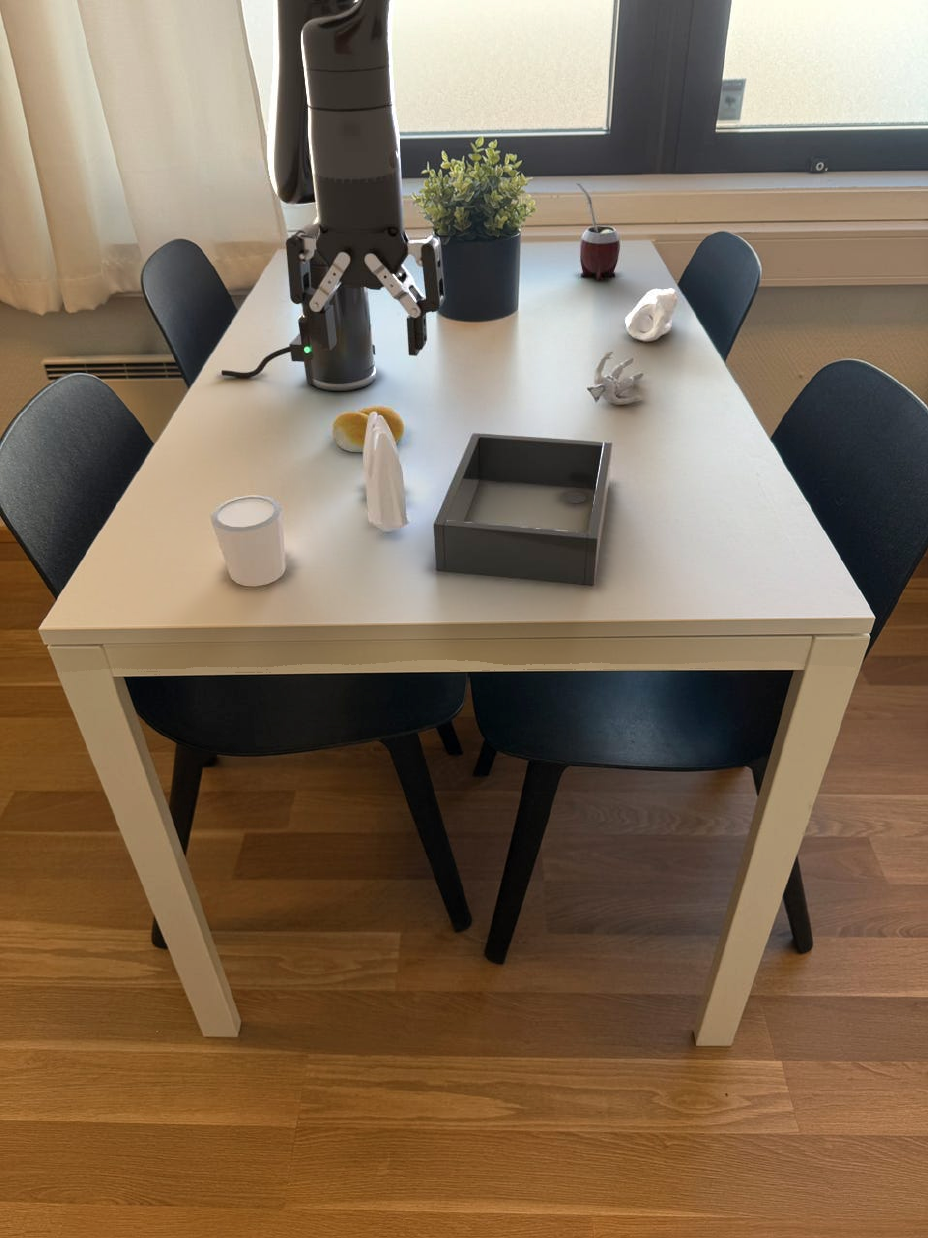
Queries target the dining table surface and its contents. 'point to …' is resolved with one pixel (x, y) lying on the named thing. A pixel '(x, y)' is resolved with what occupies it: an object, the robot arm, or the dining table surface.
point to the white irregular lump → (652, 315)
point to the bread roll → (363, 427)
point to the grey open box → (524, 546)
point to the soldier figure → (613, 383)
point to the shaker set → (383, 477)
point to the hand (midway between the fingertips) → (372, 349)
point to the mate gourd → (598, 248)
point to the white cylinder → (251, 539)
